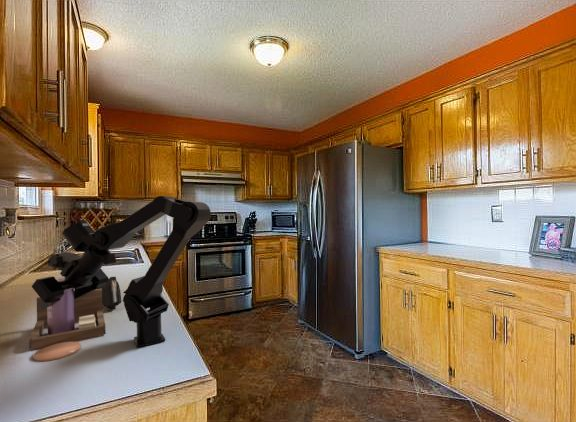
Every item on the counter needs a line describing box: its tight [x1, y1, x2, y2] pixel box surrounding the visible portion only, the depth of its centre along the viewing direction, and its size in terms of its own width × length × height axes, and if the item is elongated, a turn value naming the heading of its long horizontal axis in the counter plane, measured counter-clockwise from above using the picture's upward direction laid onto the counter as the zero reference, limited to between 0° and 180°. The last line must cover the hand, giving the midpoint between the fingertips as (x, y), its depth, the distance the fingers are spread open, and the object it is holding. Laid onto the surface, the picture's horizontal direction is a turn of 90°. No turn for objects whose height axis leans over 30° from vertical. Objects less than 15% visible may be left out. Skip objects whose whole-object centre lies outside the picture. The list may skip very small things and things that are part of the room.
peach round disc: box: [32, 341, 82, 362], centre depth 73 cm, size 9×9×1 cm
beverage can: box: [47, 276, 76, 335], centre depth 85 cm, size 6×6×15 cm
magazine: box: [99, 276, 122, 310], centre depth 116 cm, size 17×3×30 cm
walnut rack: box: [28, 289, 107, 351], centre depth 86 cm, size 18×16×9 cm
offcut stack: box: [78, 315, 97, 329], centre depth 87 cm, size 10×4×4 cm, turn 33°
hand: (56, 303), depth 85 cm, fingers open, 8 cm apart
